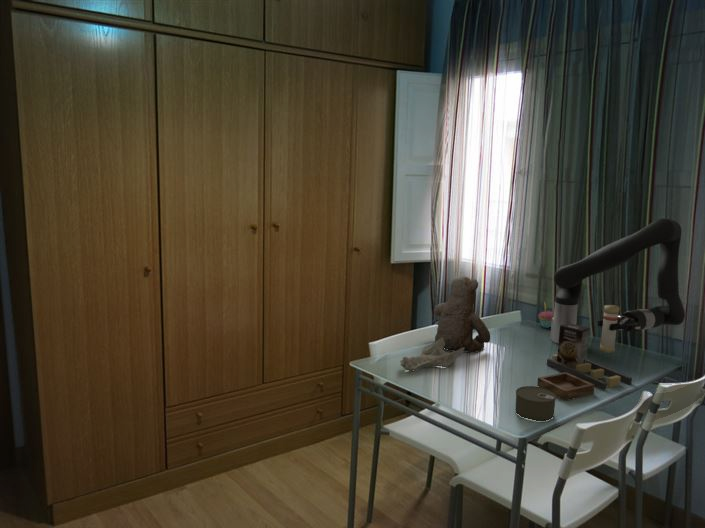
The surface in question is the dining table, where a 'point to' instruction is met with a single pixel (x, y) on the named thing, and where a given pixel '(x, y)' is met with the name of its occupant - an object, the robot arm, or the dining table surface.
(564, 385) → the tray
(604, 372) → the block
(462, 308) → the toy
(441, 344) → the skull
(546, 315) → the cupcake
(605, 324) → the fuse
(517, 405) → the can
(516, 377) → the dining table surface
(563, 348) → the coffee box
